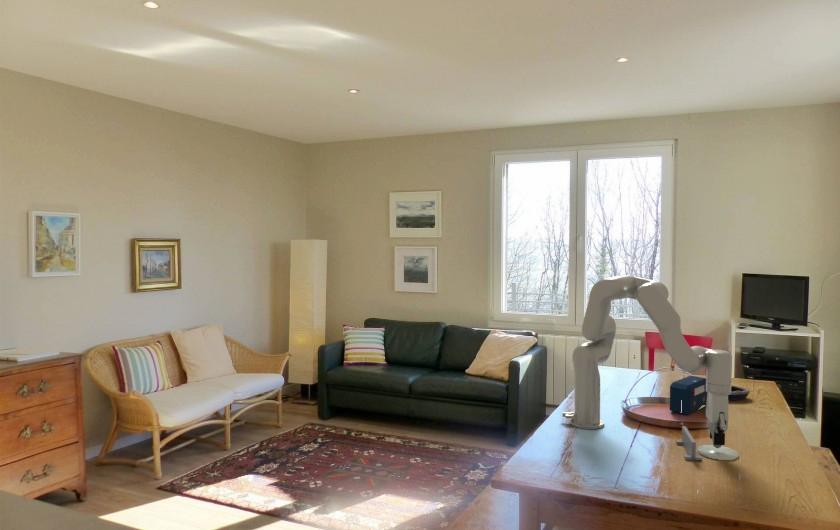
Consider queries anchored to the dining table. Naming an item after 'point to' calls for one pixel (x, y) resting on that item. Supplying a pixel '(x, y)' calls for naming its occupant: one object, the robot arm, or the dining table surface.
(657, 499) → the dining table surface
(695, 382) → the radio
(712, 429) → the lightbulb
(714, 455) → the white round dome
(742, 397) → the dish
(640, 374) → the dining table surface
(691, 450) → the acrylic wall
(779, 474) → the dining table surface
